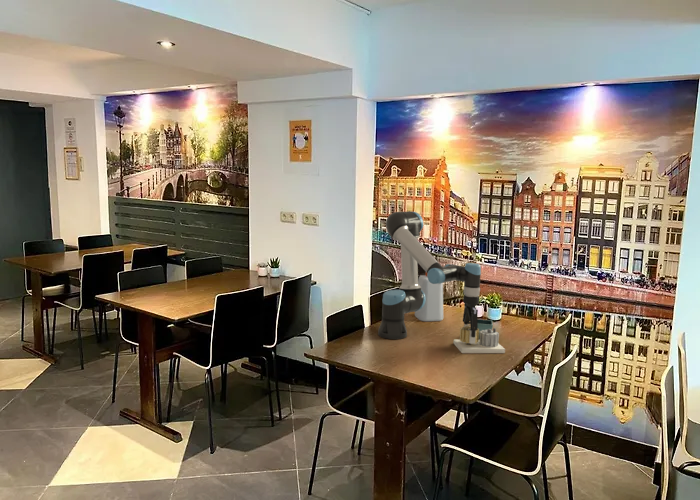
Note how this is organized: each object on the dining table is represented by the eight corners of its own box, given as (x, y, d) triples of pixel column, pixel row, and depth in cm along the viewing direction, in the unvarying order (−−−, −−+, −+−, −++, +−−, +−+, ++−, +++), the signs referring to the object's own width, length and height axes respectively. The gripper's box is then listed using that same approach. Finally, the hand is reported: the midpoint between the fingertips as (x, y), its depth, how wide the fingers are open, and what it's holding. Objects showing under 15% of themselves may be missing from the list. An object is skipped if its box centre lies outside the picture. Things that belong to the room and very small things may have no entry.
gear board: (461, 353, 249) (463, 332, 248) (453, 343, 264) (454, 324, 263) (504, 353, 251) (506, 332, 249) (494, 343, 265) (495, 324, 264)
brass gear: (462, 343, 252) (463, 331, 251) (457, 337, 260) (458, 326, 260) (480, 343, 252) (481, 331, 251) (475, 337, 261) (475, 326, 260)
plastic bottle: (412, 315, 317) (414, 270, 313) (436, 314, 319) (438, 269, 316) (420, 322, 302) (422, 274, 298) (445, 321, 305) (447, 274, 301)
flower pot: (492, 341, 268) (493, 324, 267) (474, 340, 270) (475, 323, 269) (491, 336, 277) (492, 320, 276) (473, 335, 279) (474, 318, 278)
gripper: (486, 300, 243) (483, 347, 246) (472, 290, 264) (469, 333, 267) (470, 300, 242) (468, 347, 245) (457, 290, 264) (455, 333, 267)
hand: (469, 340), depth 256 cm, fingers closed on brass gear, 9 cm apart
